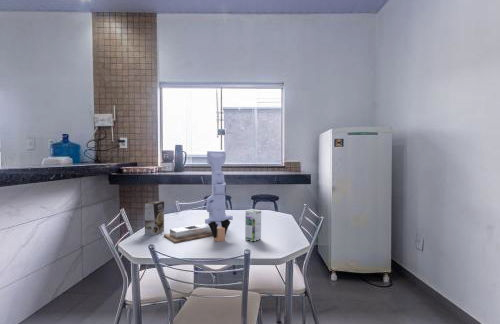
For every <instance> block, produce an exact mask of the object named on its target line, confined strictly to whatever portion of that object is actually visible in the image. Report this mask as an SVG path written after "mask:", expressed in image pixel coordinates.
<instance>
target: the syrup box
mask: <svg viewBox="0 0 500 324" xmlns="http://www.w3.org/2000/svg"><path fill="white" fill-rule="evenodd" d="M244 221H245V227H244V229H245V230H244V231H245V235H244V236H245V238H244V240H245V241H248V240H250V241H249V242H252V241H256V240H259V239H261V240H262V210H260V209H253V208H249V209H245V220H244ZM259 241H260V240H259ZM256 242H257V241H256Z"/></svg>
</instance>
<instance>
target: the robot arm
mask: <svg viewBox="0 0 500 324" xmlns="http://www.w3.org/2000/svg"><path fill="white" fill-rule="evenodd" d="M226 158H227V157H226V151H225V149H221V150H220V149H219V150H218V149H217V150H215V149H213V150H211V149H207V151H206V162H207V165H208V166H210V168H211V195H210V196H208V197H207V199H206V212H207V213H208V218H205V219H204V224H208V225H209V226H210V229H211V231H212V235H213V236H212V238H213V239H214V238H216V236H217V227H219V226H221V227H224V228H225V237H226V235H227V231H228V229H229V226H230V225H231V221H233V220H234V216H233V215H231V214H230V215H227V214H226V195H227V191H228V190H227V183H226V181H225V173H224V172H223V171H222V166H224V164H225V162H226Z"/></svg>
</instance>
